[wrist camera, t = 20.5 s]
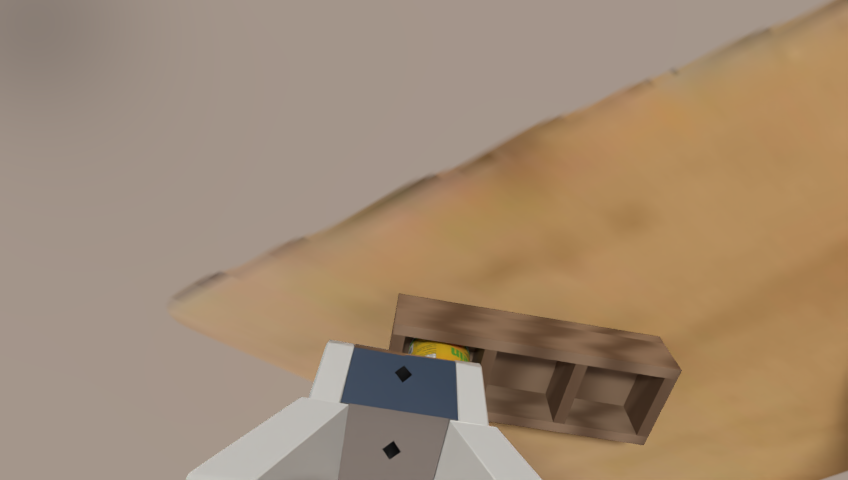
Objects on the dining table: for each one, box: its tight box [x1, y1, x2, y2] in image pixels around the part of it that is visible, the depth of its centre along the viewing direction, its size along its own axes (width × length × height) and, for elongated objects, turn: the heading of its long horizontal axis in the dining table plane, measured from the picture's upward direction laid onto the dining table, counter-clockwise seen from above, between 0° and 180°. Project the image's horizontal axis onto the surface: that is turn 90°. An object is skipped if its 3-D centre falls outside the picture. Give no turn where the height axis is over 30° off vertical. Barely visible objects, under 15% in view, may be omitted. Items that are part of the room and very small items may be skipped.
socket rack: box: [389, 294, 682, 445], centre depth 43 cm, size 24×9×5 cm, turn 80°
